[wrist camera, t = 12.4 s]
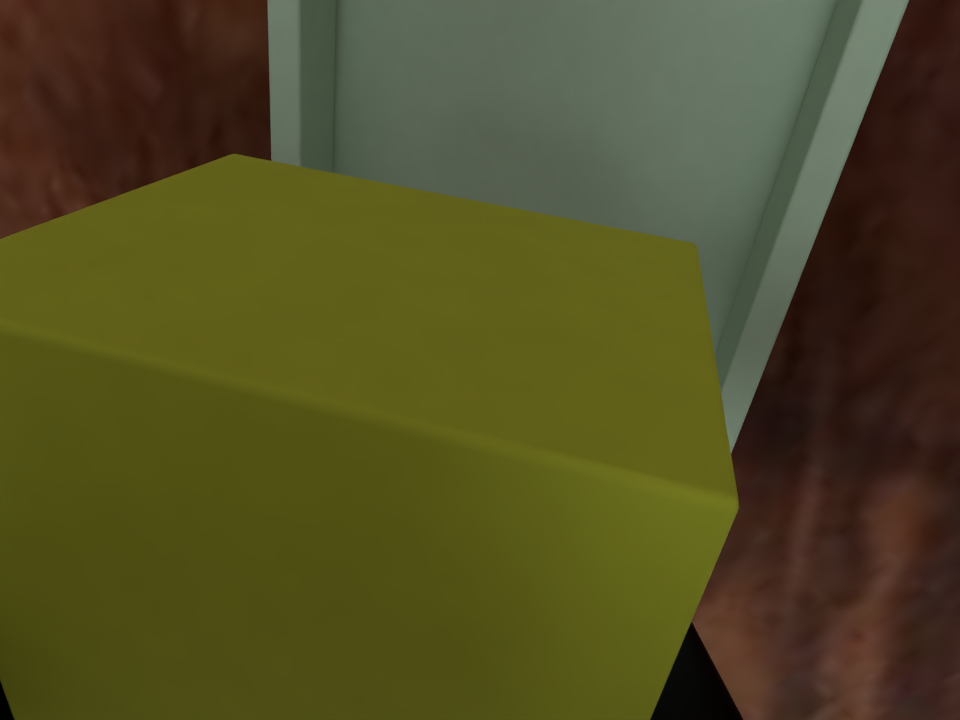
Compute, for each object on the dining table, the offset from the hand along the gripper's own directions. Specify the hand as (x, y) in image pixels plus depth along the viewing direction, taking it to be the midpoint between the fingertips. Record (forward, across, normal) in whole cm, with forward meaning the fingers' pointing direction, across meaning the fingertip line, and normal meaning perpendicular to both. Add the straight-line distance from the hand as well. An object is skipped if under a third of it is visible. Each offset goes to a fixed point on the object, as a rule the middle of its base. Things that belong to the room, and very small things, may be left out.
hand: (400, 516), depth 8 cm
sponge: (+1, 0, 0) cm, 1 cm away
